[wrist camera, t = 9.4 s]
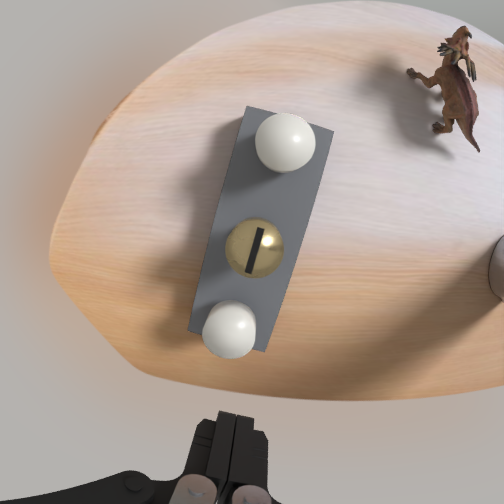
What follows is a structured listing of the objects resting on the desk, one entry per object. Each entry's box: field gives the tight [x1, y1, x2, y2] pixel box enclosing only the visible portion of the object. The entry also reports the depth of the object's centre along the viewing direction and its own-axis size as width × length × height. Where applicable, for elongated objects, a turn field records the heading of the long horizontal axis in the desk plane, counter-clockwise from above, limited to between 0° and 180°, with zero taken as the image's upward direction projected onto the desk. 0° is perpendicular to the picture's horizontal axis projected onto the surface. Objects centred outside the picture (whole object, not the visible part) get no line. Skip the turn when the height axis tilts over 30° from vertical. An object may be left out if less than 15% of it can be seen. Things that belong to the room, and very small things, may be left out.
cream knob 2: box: [255, 113, 315, 173], centre depth 21 cm, size 4×4×3 cm
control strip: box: [188, 106, 334, 352], centre depth 27 cm, size 22×8×4 cm, turn 164°
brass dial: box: [225, 217, 284, 278], centre depth 21 cm, size 4×4×3 cm
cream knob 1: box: [202, 300, 256, 359], centre depth 25 cm, size 4×4×3 cm
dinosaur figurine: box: [407, 26, 480, 152], centre depth 20 cm, size 14×6×9 cm, turn 19°
